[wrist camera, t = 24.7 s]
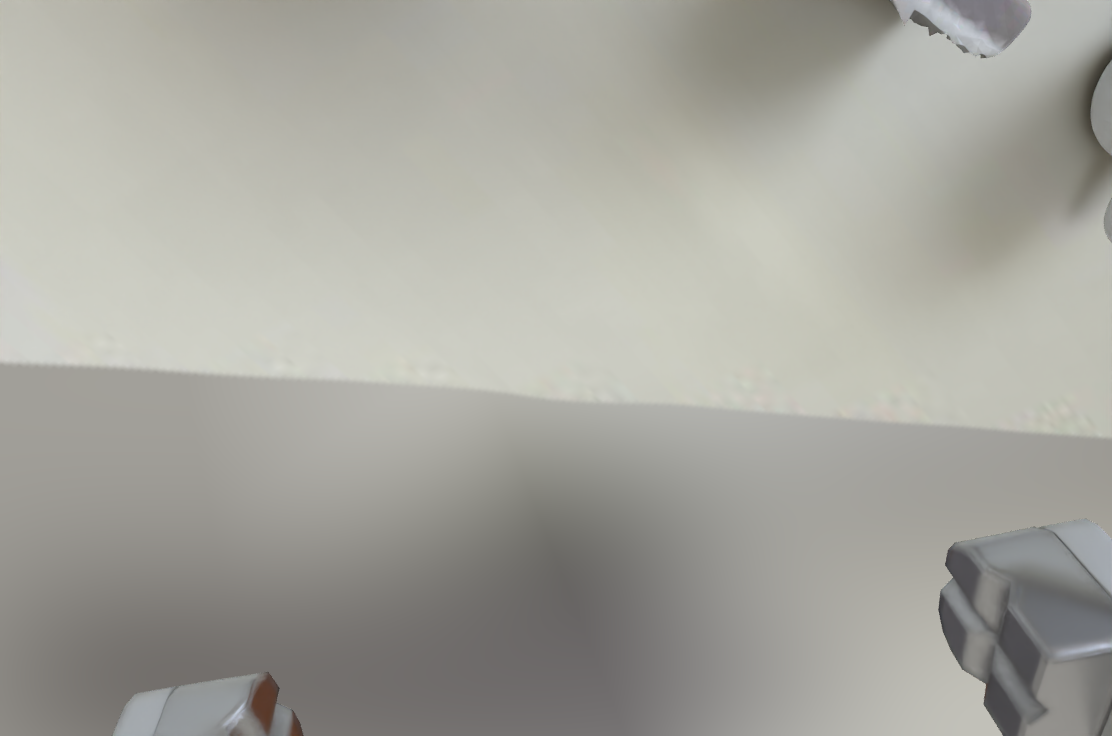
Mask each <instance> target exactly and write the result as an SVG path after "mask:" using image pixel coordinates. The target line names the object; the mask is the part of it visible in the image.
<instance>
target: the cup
mask: <svg viewBox="0 0 1112 736" xmlns="http://www.w3.org/2000/svg"><path fill="white" fill-rule="evenodd" d="M1091 123H1092V128H1093V131H1094V134H1095V136H1096V138H1097V140H1098V141H1099V143H1100V144H1101V146H1102V147H1103V148H1104V149H1105V150H1106V151H1107V152H1108V153H1109V154H1110V155H1111V156H1112V60H1111V61H1110V63H1109V64H1108V66H1107V67H1106V68H1105V70H1104V72H1103V73H1102V75H1101V77H1100V79H1099V81H1098V83H1097V86H1096V88H1095V91H1094V94H1093V98H1092V104H1091ZM1104 229H1105V233H1106V235H1107V237H1108V239H1109V240H1110V241H1111V243H1112V198H1111V200H1110V202H1109V204H1108V207H1107V209H1106V212H1105V216H1104Z"/></svg>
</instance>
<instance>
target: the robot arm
mask: <svg viewBox="0 0 1112 736" xmlns="http://www.w3.org/2000/svg"><path fill="white" fill-rule="evenodd" d="M945 566H946V567H947V569H948V570H949V572H950V573H951V574H952V576H953V578H952V579H951V580H950V581H949V582H948V583H947V585H946V586H944V588H943V589H942V590H941V592H940V601H939V609H938V610H939V615H940V620H941V624H942V629H943V633H944V635H945V638H946V640H947V642H948V645H949V647H950V650H951V651H952V653H953V655H954V656H955V658H956V660H957V661H958V663H959V665H960V666H961V668H962V670H964V671H966V672H967V673H969V674H971V675H973V676H974V677H976V678H977V679H979V680H980V681H982V682H984V683H985V684H986V689H985V696H984V706H985V707H986V709H987V711H988V712H989V714H990V715H991V717H992V718H993V720H994V722H995V723H996V725H997V727H998V728H999V730H1000V731H1001V733H1002V735H1003V736H1112V539H1111V538H1110V537H1109V536H1108V535H1107V534H1106V532H1104V530H1103V529H1102V528H1101V527H1100V526H1098V525H1097V524H1096V523H1094V522H1092V521H1090V520H1088V519H1079V520H1073V521H1068V522H1062V523H1057V524H1052V525H1047V526H1042V527H1030V528H1026V529H1021V530H1015V531H1010V532H1005V533H1001V534H996V535H991V536H986V537H981V538H976V539H971V540H966V541H961V542H956V543H954V544H953V545H952V546H951V547H950V548H949V550H948V553H947V558H946V563H945ZM278 692H279V687H278V685H277V684H276V682H275V681H274V679H273V678H272V676H271V675H270V674H269V672H264V673H257V674H252V675H245V676H239V677H232V678H227V679H220V680H213V681H207V682H201V683H195V684H188V685H182V686H176V687H170V688H164V689H159V690H153V691H147V692H142V693H136V694H135V695H134V696H133V698H132V699H131V700H130V701H129V702H128V703H127V704H126V705H125V707H124V708H123V710H122V713H121V715H120V717H119V720H118V722H117V725H116V727H115V730H114V732H113V735H112V736H303V732H302V728H301V725H300V722H299V720H298V718H297V717H296V715H295V713H294V711H293V710H292V709H290V708H287V707H285V706H283V705H281V704H278V703H276V702H277V697H278Z"/></svg>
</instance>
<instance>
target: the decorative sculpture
mask: <svg viewBox="0 0 1112 736" xmlns="http://www.w3.org/2000/svg"><path fill="white" fill-rule="evenodd" d="M890 1H891V2H892V3H893V5H894V7H895V9H896V10H897V9H898V12H899V14H900V17H901V19H902V22H903V24H904V26H905V24H906V23H907V21H908V19H909V18H910V19H912V21H913V22H914V23H917V24H919V25H921V26H925V27H928V28H929V35H930V36H931V35H933V34H935V33H937V32H938V33H940V34H945V33H946V34H947V39H949V40H951V41H952V43H954V44H956V45H957V46H958V47H959V48H960V49H961V50H962V51H963V53H967V52H970V53H971V54H973V55H974V56H977V55H981V58H989V57H993V56H996V55H998V54H999V53H1000V52H1002V51H1003V50H1004V49H1005V48H1007V47H1008V46H1009V45H1010V44H1011V43H1012V42H1013V41H1014V39H1015V38H1016V37H1017V36H1018V35H1019V34H1020V33H1021V32H1022V30H1023V29H1024V28H1025V27H1026V25H1027V23H1028V22H1029V20H1030V18H1031V6H1030V4H1029V2H1028V1H1027V0H890Z"/></svg>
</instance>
